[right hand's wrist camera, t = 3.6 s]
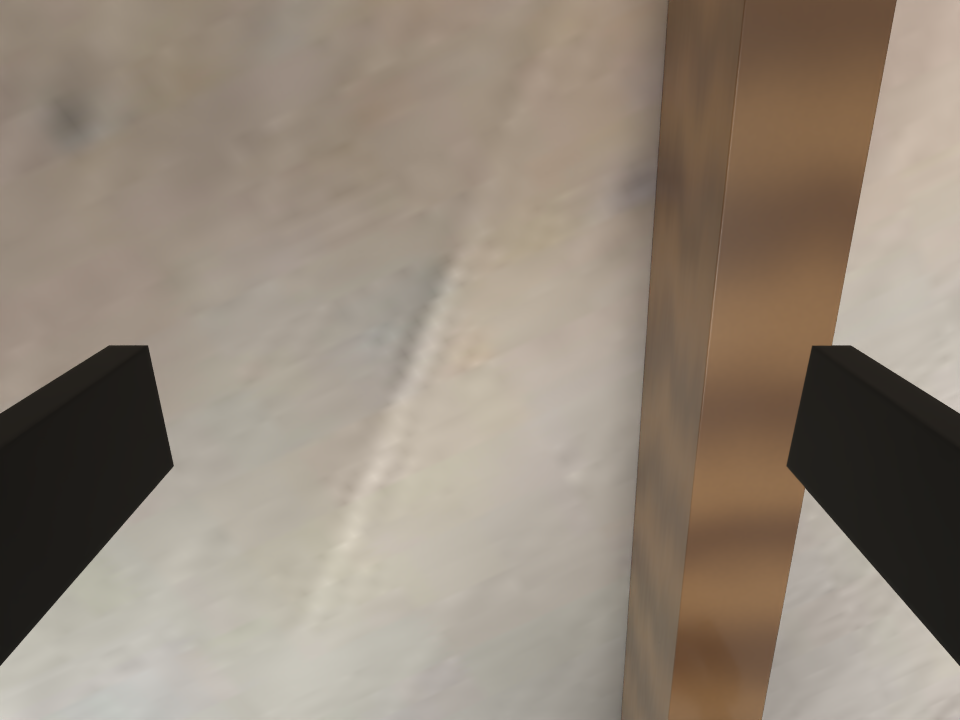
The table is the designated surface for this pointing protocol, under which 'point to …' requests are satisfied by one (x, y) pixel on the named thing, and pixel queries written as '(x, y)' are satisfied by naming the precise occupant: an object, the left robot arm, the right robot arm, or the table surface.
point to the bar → (739, 329)
